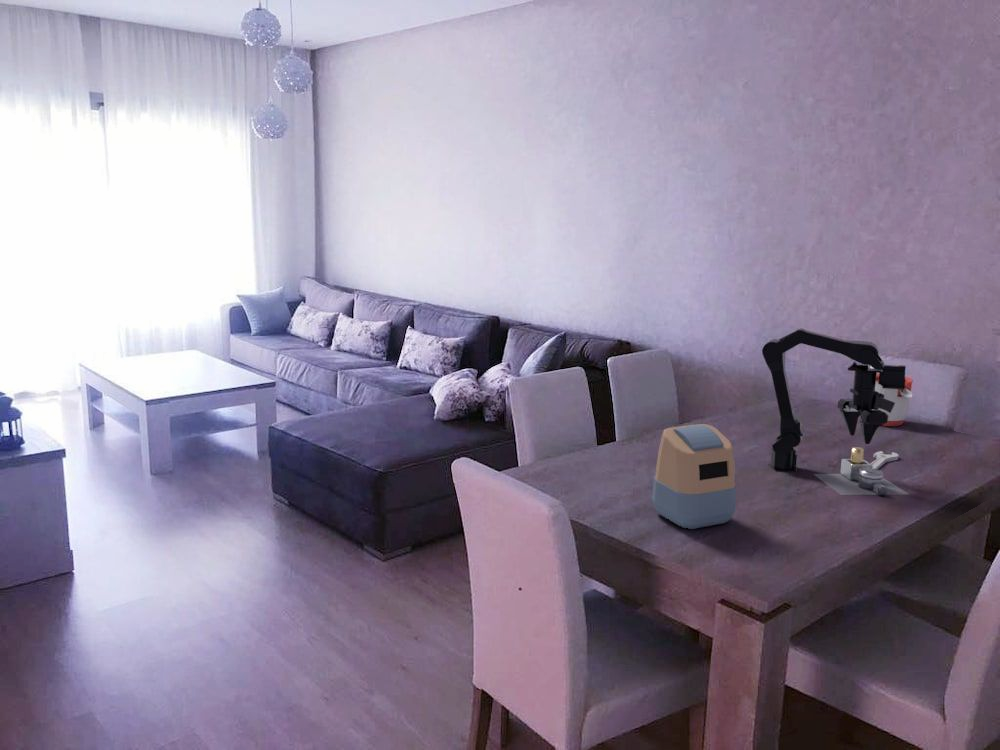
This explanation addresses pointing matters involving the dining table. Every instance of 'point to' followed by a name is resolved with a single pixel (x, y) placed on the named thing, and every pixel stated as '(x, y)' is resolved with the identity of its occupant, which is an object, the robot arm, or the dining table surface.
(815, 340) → the robot arm
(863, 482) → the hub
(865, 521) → the dining table surface
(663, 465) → the alarm clock
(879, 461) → the adjustable wrench
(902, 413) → the citrus juicer
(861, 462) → the brass rounded cylinder
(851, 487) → the mat
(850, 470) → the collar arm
